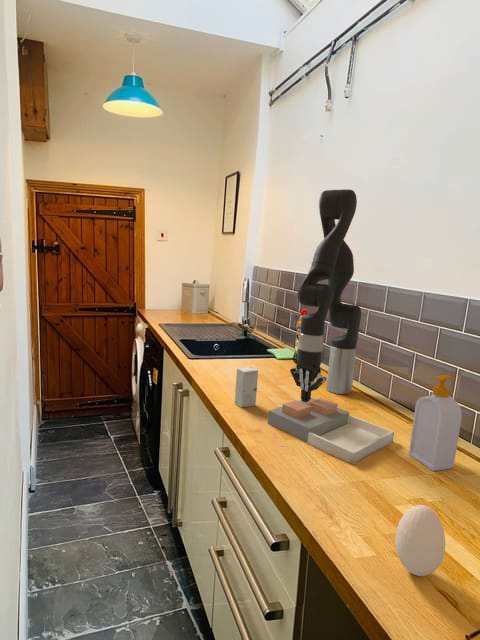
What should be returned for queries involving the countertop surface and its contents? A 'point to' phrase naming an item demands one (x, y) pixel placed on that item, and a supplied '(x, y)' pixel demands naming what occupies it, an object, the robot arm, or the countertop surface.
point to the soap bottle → (436, 428)
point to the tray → (353, 440)
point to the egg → (420, 540)
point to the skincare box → (246, 387)
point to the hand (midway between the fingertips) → (305, 401)
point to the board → (307, 422)
